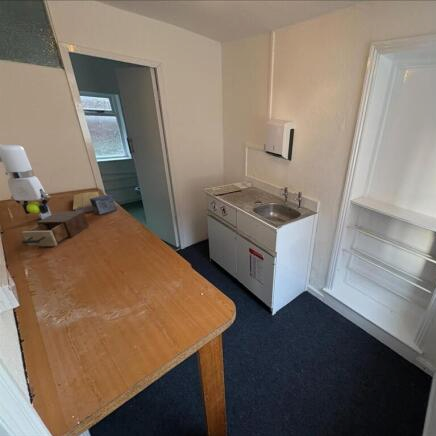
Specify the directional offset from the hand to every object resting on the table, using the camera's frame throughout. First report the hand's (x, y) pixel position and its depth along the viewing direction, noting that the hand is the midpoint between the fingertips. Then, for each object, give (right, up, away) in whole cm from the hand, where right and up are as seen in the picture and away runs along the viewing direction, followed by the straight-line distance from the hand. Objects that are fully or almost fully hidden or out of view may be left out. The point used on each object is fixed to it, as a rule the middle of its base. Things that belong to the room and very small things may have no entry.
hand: (37, 212), depth 108 cm
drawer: (-2, -15, +7) cm, 16 cm away
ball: (0, 0, 0) cm, 0 cm away
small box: (-5, +1, +46) cm, 47 cm away
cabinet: (-4, -10, +19) cm, 22 cm away
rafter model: (-26, +7, +57) cm, 63 cm away
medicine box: (-31, -3, +33) cm, 45 cm away
